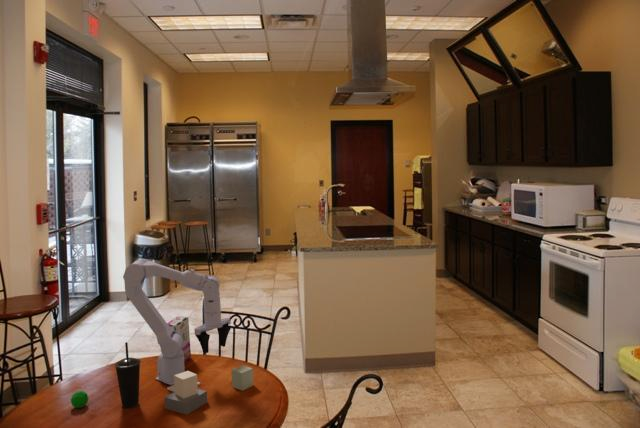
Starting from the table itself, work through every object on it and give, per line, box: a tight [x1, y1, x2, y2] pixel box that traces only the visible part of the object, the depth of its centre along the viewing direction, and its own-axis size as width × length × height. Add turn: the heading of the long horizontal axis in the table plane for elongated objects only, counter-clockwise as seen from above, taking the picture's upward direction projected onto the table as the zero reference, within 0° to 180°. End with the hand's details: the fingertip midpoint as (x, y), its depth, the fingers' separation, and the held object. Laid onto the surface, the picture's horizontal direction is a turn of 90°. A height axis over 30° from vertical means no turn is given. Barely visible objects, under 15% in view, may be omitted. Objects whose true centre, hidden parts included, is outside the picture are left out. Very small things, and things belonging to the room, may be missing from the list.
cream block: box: [174, 370, 199, 399], centre depth 160 cm, size 5×5×6 cm
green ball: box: [70, 390, 89, 409], centre depth 161 cm, size 5×5×5 cm
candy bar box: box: [166, 315, 192, 364], centre depth 196 cm, size 11×5×16 cm, turn 169°
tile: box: [166, 381, 201, 393], centre depth 174 cm, size 6×9×1 cm, turn 141°
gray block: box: [163, 388, 208, 415], centre depth 160 cm, size 9×9×4 cm
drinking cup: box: [114, 341, 142, 409], centre depth 161 cm, size 8×8×20 cm
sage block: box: [231, 364, 254, 391], centre depth 173 cm, size 5×5×6 cm
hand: (214, 349), depth 181 cm, fingers open, 7 cm apart
